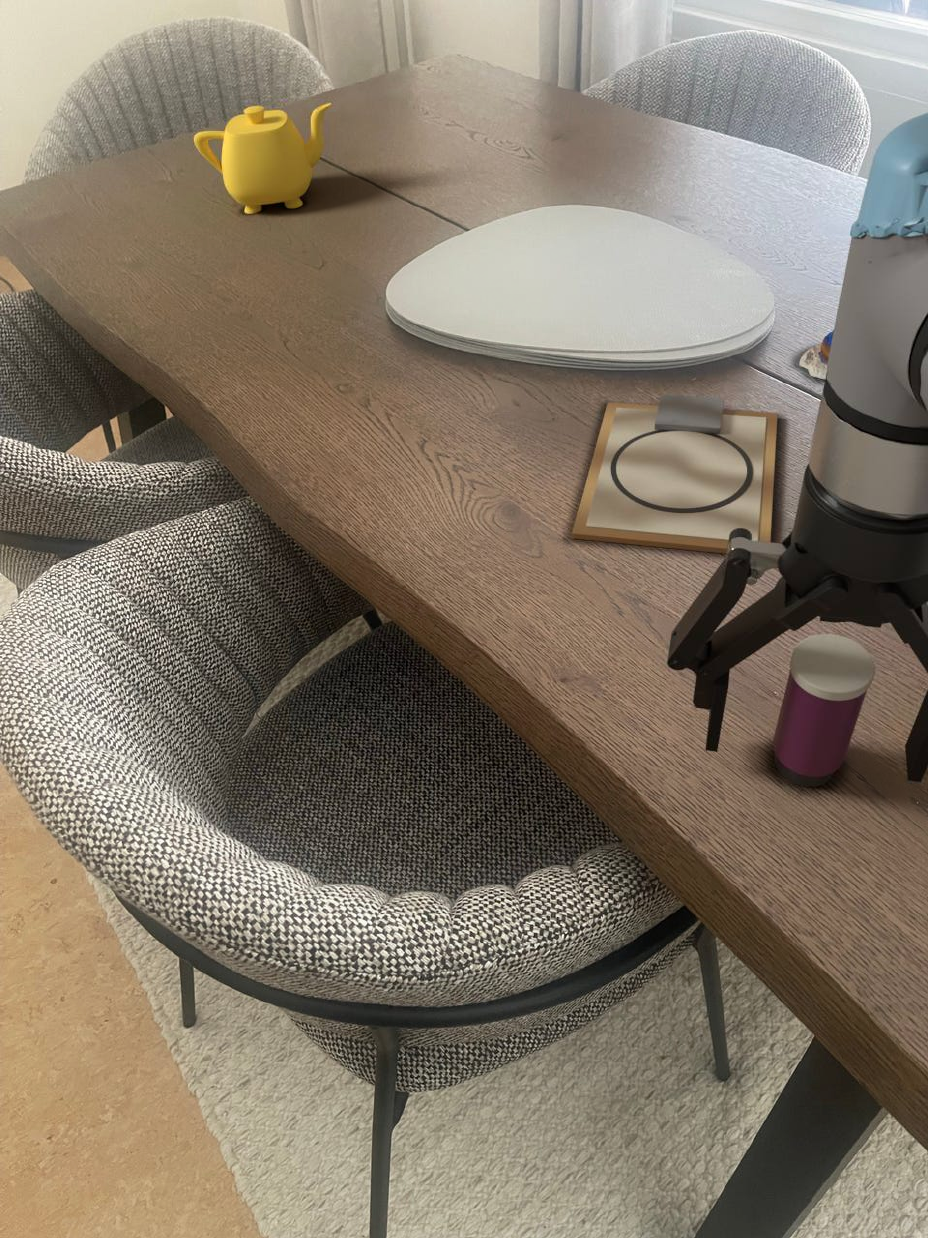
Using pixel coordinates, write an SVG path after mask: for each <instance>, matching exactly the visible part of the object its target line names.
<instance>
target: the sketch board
mask: <svg viewBox="0 0 928 1238" xmlns="http://www.w3.org/2000/svg"><path fill="white" fill-rule="evenodd" d="M658 402H659V403H658V404H657V405H656V404H641V403H639V404H638V403H623V402H610V401H609V402H607V405H606V409H605V412H604V415H603V419H602V423H601V426H600V430H599V433H598V437H597V440H596V444H595V449H594V452H593V456H592V459H591V462H590V467H589V470H588V474H587V478H586V482H585V485H584V489H583V493H582V496H581V500H580V503H579V507H578V510H577V514H576V518H575V521H574V525H573V528H572V532H571V538H572V539H575V540H585V541H595V542H603V543H615V544H624V545H634V546H635V545H636V546H644V547H645V546H646V547H655V548H665V549H675V550H685V551H693V552H694V551H695V552H703V553H704V552H705V553H713V554H714V553H715V554H725V555H726V551H727V546H728V540H729V535H730V533H731V531H733V530H734V529H737V528H744V529H747V530H749V531H750V532H751V534H752V540H753V541H762V542H771V543H772V541H771V540H772V539H771V538H772V525H773V523H772V521H773V505H774V489H775V488H774V487H775V485H774V484H775V468H776V450H777V436H778V435H777V431H778V415H779V414H778V412H768V411H767V412H766V411H750V410H749V411H748V410H734V409H724V405H725V398H723V397H720V398H719V397H707V396H689V395H676V394H675V395H674V394H660V397H659V400H658Z"/></svg>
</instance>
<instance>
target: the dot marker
mask: <svg viewBox="0 0 928 1238" xmlns="http://www.w3.org/2000/svg"><path fill="white" fill-rule="evenodd" d="M790 656H791V657H790V661H789V673H788V676H787V681H786V685H785V690H784V693H783V698H782V703H781V707H780V710H779V714H778V719H777V724H776V727H775V731H774V736H773V741H772V747H773V751H774V759H773V761H774V765H775V767H776V770H777V771H778V772H779V774H780V775H781V776H782V777H783V778H784V779H785V780H786V781H788V782H790V783H792V784H793V785H796V786H800V787H805V788H807V787H808V788H815V787H819V786H822V785H824V784H827V783H828V782H830V780H831V779H832V778H833V776H834V774H835V772H836V771H838V769H839V768H840V767H842V764H843V763H844V760H845V758H846V755H847V752H848V749H849V746H850V743H851V740H852V737H853V734H854V731H855V729H856V725H857V723H858V719H859V716H860V713H861V710H862V707H863V704H864V701H865V699H866V695H867V693H868V690H869V689H870V687H872V684H873V682H874V677H875V674H876V664H875V661H874V658H873V657H872V655H871V653H870V652H869V651H868V650H867V649H866V648H865V646H863V645H861V644H860V643H859V642H857V641H856V640H853V639H851V638H849V637H847V636H842V635H839V634H833V633H820V634H813V635H810V636H807V637H806V638H804V639H802V640H801V641H800V642H798V643H797V644H796V646H795V647H794V648H793V649H792V652H791V655H790Z"/></svg>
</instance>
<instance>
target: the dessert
mask: <svg viewBox="0 0 928 1238" xmlns="http://www.w3.org/2000/svg"><path fill="white" fill-rule="evenodd" d="M833 333H834V329H833V330H832V331H830V332H828V334H826V335H825V336H824V337H823V339H822V341H821V344H817V345H813V346H812V347H811V348H809V349H808V350H807V351H806V352H804V353H803V354H802V356H801V357H800V360H799V364H798V365H799V367H802V368H805V369H806V370H807V371H808V372H809V376H811V377H813V378H817V379H821V380H825V378H826V374H827V364H828V359H829V354H830V348H831V343H832V338H833Z"/></svg>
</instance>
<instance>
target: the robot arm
mask: <svg viewBox="0 0 928 1238" xmlns="http://www.w3.org/2000/svg"><path fill="white" fill-rule="evenodd" d="M864 189H865V190H864V193H863V197H862V201H861V205H860V209H859V212H858V217H857V218H856V220H855V221H854V222H853V223H852V225H851V227H850V232H849V235H850V237H851V238H850V244H849V250H848V252H847V253H848V255H847V260H846V265H845V270H844V275H843V279H842V286H841V291H840V296H839V301H838V306H837V312H836V317H835V323H834V328H833V330H834V333H833V338H832V343H831V348H830V354H829V359H828V364H827V374H826V378H825V379H824V384H823V388H822V393H821V397H820V400H819V401H820V402H819V405H818V410H817V415H816V419H815V423H814V429H813V433H812V437H811V442H810V448H809V451H808V457H807V459H808V463H807V465H806V467H805V470H804V474H803V479H802V484H801V487H800V494H799V499H798V503H797V506H796V507H797V508H796V513H795V516H794V523H793V527H792V529H791V531H790V533H789V534H788V535H787V536H786V537H785V538H784V539H783V540H782V541H781V542H779V543H778V542H772V541H771V542H762V541H753V540H752V534H751V532H750V531H749V530H747V529H744V528H737V529H734V530H733V531H731V533H730V535H729V540H728V546H727V551H726V554H725V557H724V559H723V560H722V562H721V563H720V564H719V566H718V567H717V569H716V570H715V572H713V574H712V576H711V577H710V578H709V580H708V581H707V583H706V584H705V585H704V587H703V588H702V589H701V591H700V592H699V593H698V595H697V596H696V597H695V599H694V600H693V602H692V603H691V604H690V606H689V607H688V609H686V612H684V615H682V617H681V618H680V620H679V621H678V622H677V624H676V626H675V627H674V628H673V630H672V631H671V634H670V641H669V648H668V653H667V660H666V664H667V667H669V668H670V669H671V670H674V671H684V670H685V669H688V670H690V671H691V672H693V674H694V675H695V683H694V691H693V698H692V699H693V700H692V703H693V705H694V708H696V709H701V710H708V711H709V714H708V722H707V731H706V741H705V749H704V750H705V751H708V752H715V753H718V750H719V744H720V738H721V733H722V726H723V720H724V714H725V709H726V703H727V697H728V692H729V684H730V683H729V682H730V673H731V669H733V668H734V667H736V666H737V665H739V664H741V663H742V662H744V661H745V660H746V659H748V658H749V657H750V656H753V654H755V653H756V652H758V651H759V650H761V649H762V648H764V647H765V646H767V645H769V643H771V642H773V641H774V640H776V639H777V638H778V637H780V636H781V635H783V634H784V633H786V632H787V631H789V630H790V631H792V632H796V631H799V630H800V629H802V628H803V627H804V626H806V625H807V624H809V623H810V622H812V621H813V620H814V619H816V618H817V617H819V622H824V623H825V622H826V623H835V624H837V623H854V624H857V625H861V626H863V627H869V628H877V629H881V628H882V625H885V624H890V625H891V626H892V628H893V629H894V631H895V632H896V634H897V636H898V637H899V638H900V640H901V642H903V643H904V644H905V645H908V646H909V647H910V649H911V651H912V652H913V653H914V655H915V656H916V658H917V659H918V661H919V662H920V664H921V665H922V667H923V668H924V670H925V671H926V673H927V674H928V112H926V113H923V114H920V115H917V116H915V117H912V118H909V119H908V120H906V121H904V122H902V123H901V124H899V125H897V126H896V127H894V129H892V130H891V131H889V132H888V133H887V134H886V136H885V137H883V139H882V140H881V141H880V143H879V145H878V146H877V148H876V150H875V152H874V155H873V157H872V161H871V166H870V169H869V173H868V177H867V182H866V185H865V188H864ZM773 569H777V570H778V573H779V574H780V575H781V576H780V578H779V579H778V580H777V582H776V584H775V586H774V587H773V588H772V589H771V590H770V591H768V592H767V593H765V594H764V595H763V596H760V598H758V600H756V601H754V603H752V604H751V605H749V606H748V607H747V608H745V609H744V610H743V611H741V612H740V613H738V614H737V615H736V616H734V617H733V618H731V619H730V620H729V621H727V622H726V623H724V624H723V625H722V626H721V627H720V625H721V624H722V622H724V620H725V619H726V618H727V616H728V615H729V614H730V612H731V611H732V610H733V608H734V607H735V606H736V605H737V603H738V602H739V601H740V599H741V598H742V596H743V594H744V593H745V590H746V587H747V585H748V586H754V585H756V583H757V581H758V580H759V579H761V578H762V577H763V575H764V574H765V573H766V572H767V571H768V570H773ZM904 750H905V752H904V753H905V761H906V762H905V765H906V779H907V782H908V781H909V782H915V783H922V781H923V778H924V776H925V774H926V771H927V769H928V689H927V690H926V693H925V695H924V697H923V700H922V703H921V705H920V707H919V710H918V712H917V715H916V718H915V720H914V722H913V724H912V727H911V730H910V732H909V734H908V737H907V739H906V742H905V744H904Z"/></svg>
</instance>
